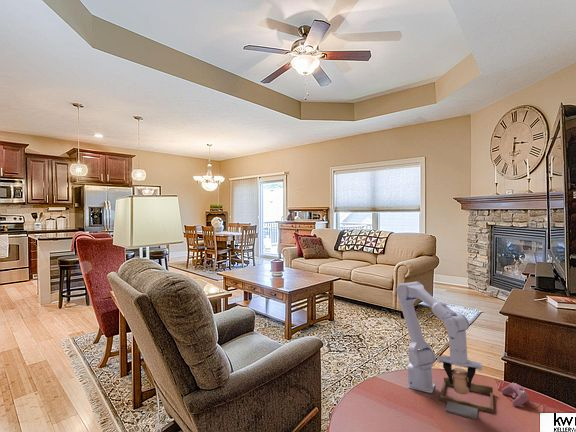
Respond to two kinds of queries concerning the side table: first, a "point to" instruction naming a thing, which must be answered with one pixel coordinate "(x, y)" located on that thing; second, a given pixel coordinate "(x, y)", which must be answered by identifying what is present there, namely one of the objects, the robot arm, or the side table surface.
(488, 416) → the side table surface
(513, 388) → the video game controller
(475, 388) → the frame
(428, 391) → the robot arm
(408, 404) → the side table surface
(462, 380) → the beige peg
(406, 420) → the side table surface
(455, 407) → the rubber mat
